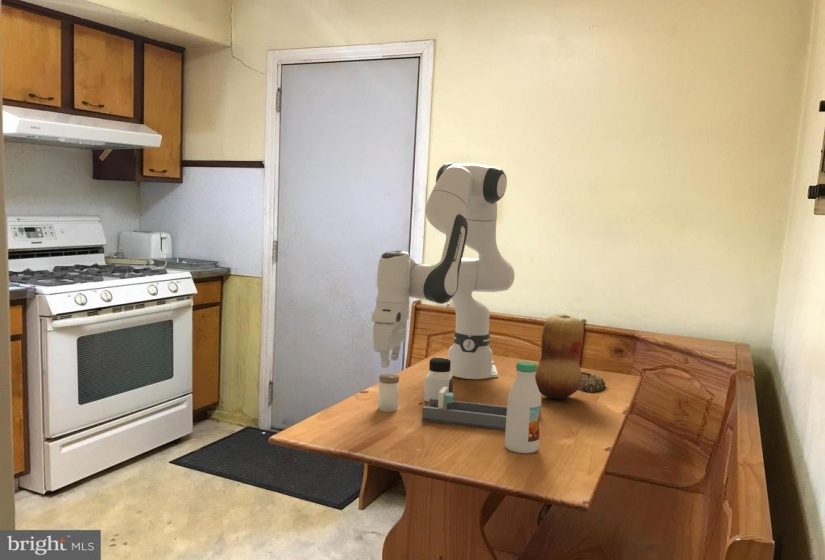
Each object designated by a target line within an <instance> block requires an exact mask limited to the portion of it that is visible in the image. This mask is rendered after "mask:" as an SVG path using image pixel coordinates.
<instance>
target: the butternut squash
mask: <svg viewBox="0 0 825 560" xmlns="http://www.w3.org/2000/svg"><path fill="white" fill-rule="evenodd" d="M543 324H544V325H543V329H542V334H541V344H540V346H541V347H540V348H541V351H540V352H541V355H540V360H539V362H538V364H537V370H536V374H535V379H536V384H537V387H538V389H539V392H540V395H542V396H544V397H545V398H548V399H555V400H565V399H566V398H568V397H570V396H572V395H573V394H575V393H576V392H578V391H579V390H578V389H579V387H580V385H581V379H582V373H581V372H582V370H581V366H580V363H579V361H580V356H581V353H582V350H583V345H584V343H583V342H584V333H585V330H584V322H582V321H581V320H580V319H579V318H577V317H575V316H572V315H569V314H566V313H563V314H562V313H561V314H560V313H555V314H551V315H549V317H547V319H546V320H545V322H544V323H543Z"/></svg>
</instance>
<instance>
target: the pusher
mask: <svg viewBox="0 0 825 560" xmlns="http://www.w3.org/2000/svg"><path fill="white" fill-rule="evenodd" d="M454 398H455V392H452V393H449V392H448V387H443V388H442V389H441V390H440V392H439V396H438V408H443V409H447V403H450V404H452V402H453V401H455V399H454Z"/></svg>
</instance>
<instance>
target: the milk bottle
mask: <svg viewBox="0 0 825 560" xmlns="http://www.w3.org/2000/svg"><path fill="white" fill-rule="evenodd" d="M537 366H538V364H537V363H535V362H533V361H527V360H526V361H524V360H523V361H517V362H516V365H515V372H516V376H515V380H514V382H513V384H512V386H511V388H510V390H509V392H508V397H507V404H506V407H507V415H506V431H504V433H505V435H504V446H505V448H506V449H507V450H509V451H511V452H514V453H517V454H518V453H519V454H533V453H535V452H537V451H538V449H539V447H540V445H539V444H540V432H541V431H540V430H541V415H542V413H541V412H542V398H541V393H540V392H539V389H538V387H537V384H536V379H535V374H536V370H537Z"/></svg>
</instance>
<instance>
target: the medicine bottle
mask: <svg viewBox="0 0 825 560" xmlns="http://www.w3.org/2000/svg"><path fill="white" fill-rule="evenodd" d="M450 365H451V361H450V360H449V359H448V357H447V358H446V357H437V356H436V357H433V358H430V359H429V365H428V366H429V368H428V373H427V375H426V376H425V377H424V392H423V396H424V397H423V401H424V403H426V402H427V403H429V399H430V398H435V399H438V396H439V392H440V390H441V389H442V388H443V387H448V392H449V393H453V390H454V389H453V388H454V376H453V374H450Z"/></svg>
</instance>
